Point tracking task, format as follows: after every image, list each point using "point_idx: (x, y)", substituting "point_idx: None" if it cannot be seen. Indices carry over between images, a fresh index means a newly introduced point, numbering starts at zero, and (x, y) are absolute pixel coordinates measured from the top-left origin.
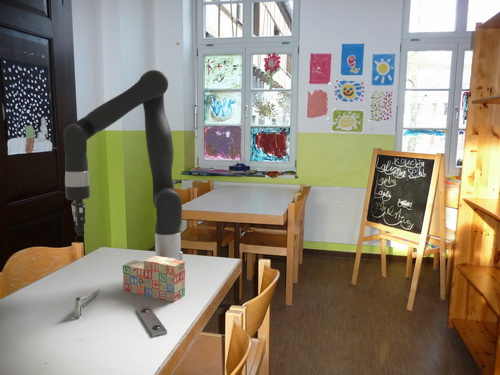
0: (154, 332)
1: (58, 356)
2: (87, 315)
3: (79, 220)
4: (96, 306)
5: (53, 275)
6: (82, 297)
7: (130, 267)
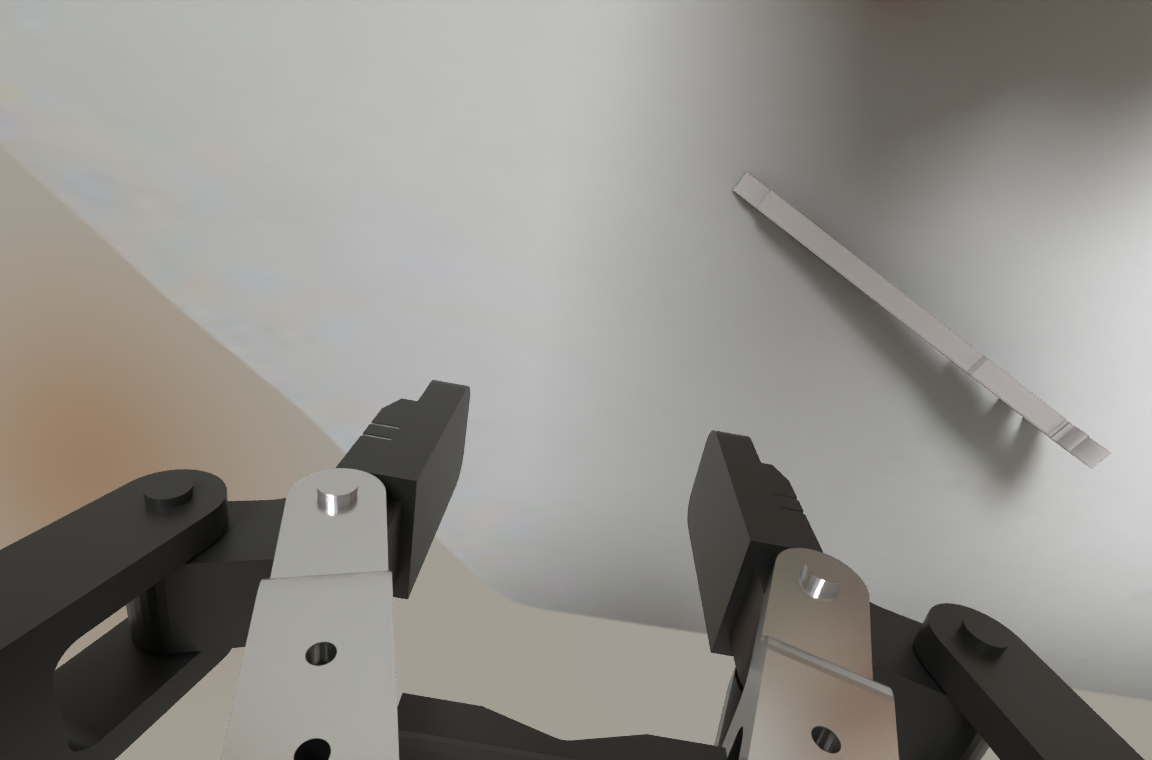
0: None
1: None
2: (1049, 362)
3: (394, 536)
4: (975, 279)
5: (245, 336)
6: (1007, 392)
7: None
